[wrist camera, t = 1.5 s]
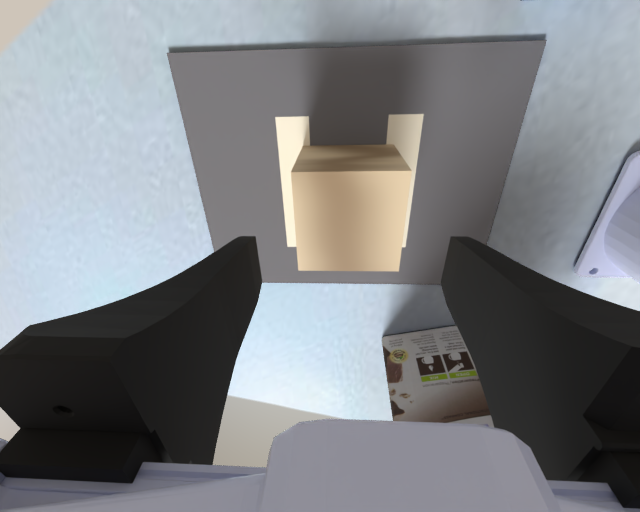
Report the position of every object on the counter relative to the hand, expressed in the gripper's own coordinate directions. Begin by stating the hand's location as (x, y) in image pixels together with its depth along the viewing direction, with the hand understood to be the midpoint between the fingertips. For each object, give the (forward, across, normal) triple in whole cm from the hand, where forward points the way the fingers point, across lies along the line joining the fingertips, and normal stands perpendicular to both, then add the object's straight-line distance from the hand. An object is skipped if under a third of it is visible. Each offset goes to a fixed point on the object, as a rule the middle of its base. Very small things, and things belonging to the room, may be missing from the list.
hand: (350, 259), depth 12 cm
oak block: (+8, 0, 0) cm, 8 cm away
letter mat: (+8, 0, 0) cm, 8 cm away
